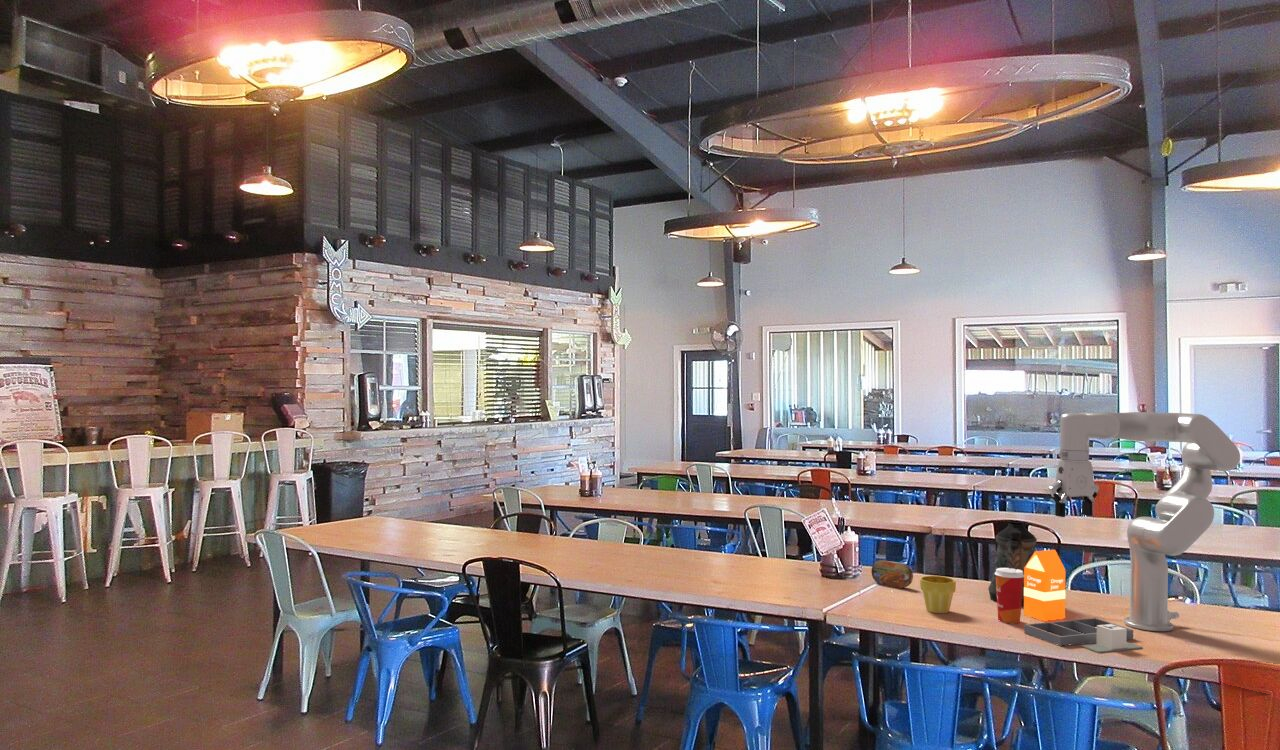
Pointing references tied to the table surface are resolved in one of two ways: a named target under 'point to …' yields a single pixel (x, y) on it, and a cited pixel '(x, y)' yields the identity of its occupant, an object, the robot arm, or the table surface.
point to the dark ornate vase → (1012, 552)
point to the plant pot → (937, 593)
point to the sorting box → (1069, 631)
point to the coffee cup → (1009, 594)
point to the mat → (1102, 649)
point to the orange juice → (1044, 586)
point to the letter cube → (1111, 636)
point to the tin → (892, 573)
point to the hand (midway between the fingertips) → (1073, 515)
